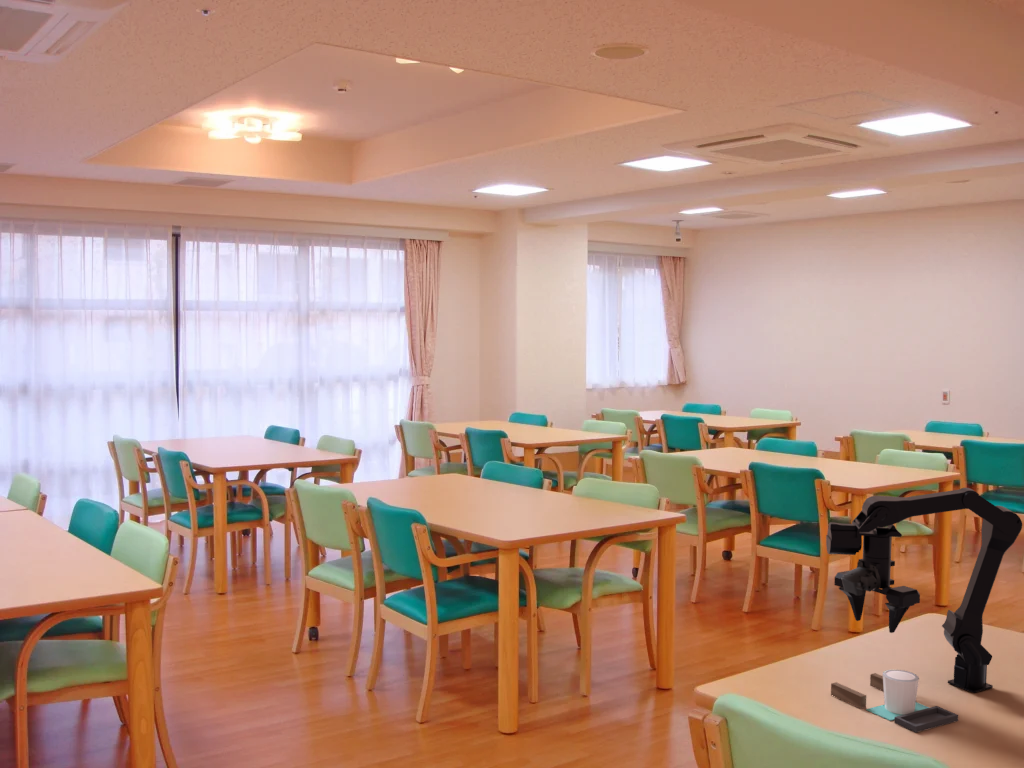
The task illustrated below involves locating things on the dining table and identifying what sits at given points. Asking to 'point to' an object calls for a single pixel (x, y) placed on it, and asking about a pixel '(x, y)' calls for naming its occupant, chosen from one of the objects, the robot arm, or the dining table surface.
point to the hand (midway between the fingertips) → (874, 626)
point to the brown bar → (854, 696)
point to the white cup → (900, 691)
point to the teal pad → (889, 715)
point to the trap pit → (926, 719)
